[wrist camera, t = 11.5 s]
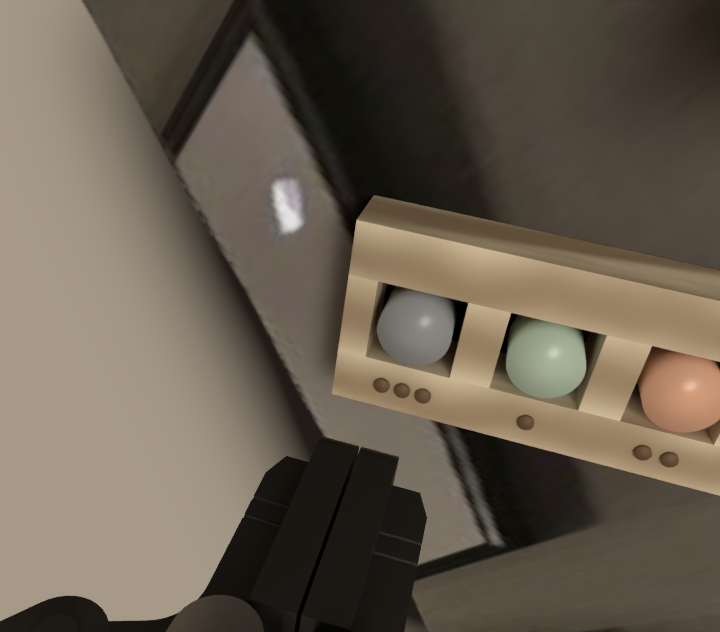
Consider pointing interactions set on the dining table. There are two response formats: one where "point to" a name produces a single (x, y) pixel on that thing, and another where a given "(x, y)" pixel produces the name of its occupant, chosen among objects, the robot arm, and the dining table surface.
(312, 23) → the dining table surface
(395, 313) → the slate button
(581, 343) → the sage button
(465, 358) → the button panel
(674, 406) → the terracotta button
